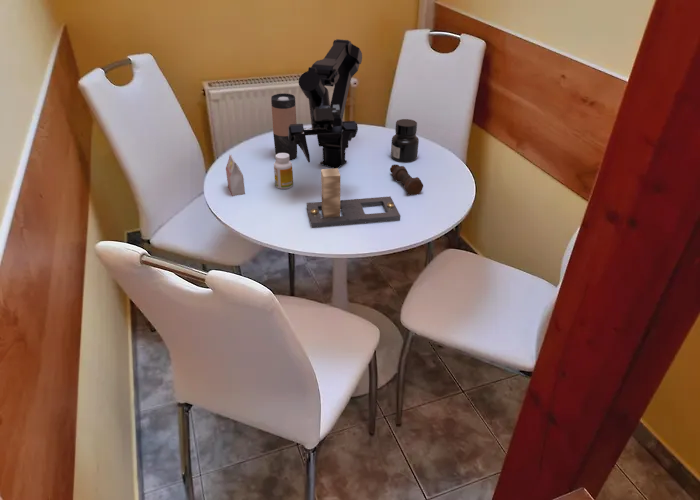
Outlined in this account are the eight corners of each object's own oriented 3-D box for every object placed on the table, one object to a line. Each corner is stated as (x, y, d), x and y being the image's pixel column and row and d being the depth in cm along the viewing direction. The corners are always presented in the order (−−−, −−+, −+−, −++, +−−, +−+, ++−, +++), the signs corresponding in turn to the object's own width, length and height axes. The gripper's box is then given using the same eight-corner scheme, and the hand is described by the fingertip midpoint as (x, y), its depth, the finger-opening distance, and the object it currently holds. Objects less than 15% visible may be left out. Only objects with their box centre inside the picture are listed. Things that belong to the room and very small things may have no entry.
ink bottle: (391, 150, 183) (393, 116, 176) (416, 152, 182) (419, 118, 176) (390, 162, 175) (392, 127, 168) (417, 164, 174) (420, 128, 168)
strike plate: (311, 228, 141) (311, 221, 139) (306, 207, 149) (306, 200, 148) (400, 220, 144) (400, 213, 143) (390, 201, 153) (390, 194, 152)
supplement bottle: (296, 183, 162) (295, 153, 156) (287, 191, 158) (285, 160, 152) (281, 179, 163) (279, 150, 158) (271, 187, 159) (269, 157, 154)
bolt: (395, 179, 169) (416, 199, 158) (383, 173, 167) (403, 193, 155) (405, 162, 168) (426, 182, 156) (392, 157, 165) (413, 176, 153)
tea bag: (240, 184, 161) (236, 153, 155) (245, 194, 156) (241, 162, 150) (227, 186, 160) (224, 155, 154) (232, 196, 155) (228, 164, 149)
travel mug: (302, 155, 179) (300, 96, 168) (288, 163, 173) (285, 102, 162) (284, 150, 182) (281, 91, 171) (270, 157, 177) (265, 98, 166)
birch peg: (324, 220, 144) (323, 176, 137) (321, 212, 147) (321, 169, 140) (340, 219, 145) (340, 175, 137) (337, 211, 148) (337, 168, 141)
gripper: (286, 94, 139) (292, 151, 136) (357, 91, 142) (364, 147, 139) (285, 113, 149) (291, 166, 147) (351, 110, 152) (358, 162, 150)
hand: (326, 160), depth 145 cm, fingers open, 9 cm apart
